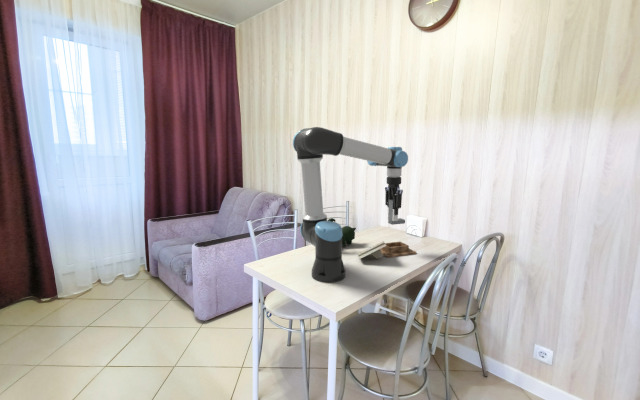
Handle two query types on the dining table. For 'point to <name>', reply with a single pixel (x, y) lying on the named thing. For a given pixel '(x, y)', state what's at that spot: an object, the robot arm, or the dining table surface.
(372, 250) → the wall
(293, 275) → the dining table surface
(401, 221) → the bracket
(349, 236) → the toy figurine
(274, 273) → the dining table surface
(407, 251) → the brown wooden flat frame
